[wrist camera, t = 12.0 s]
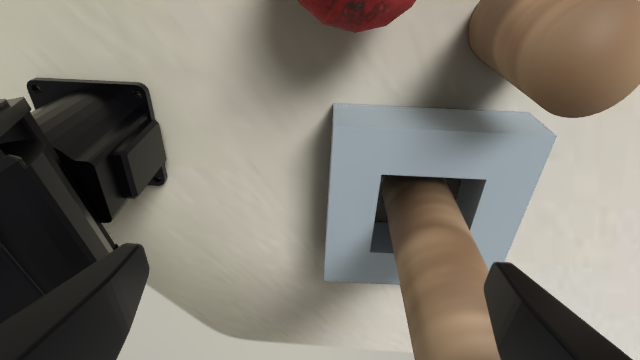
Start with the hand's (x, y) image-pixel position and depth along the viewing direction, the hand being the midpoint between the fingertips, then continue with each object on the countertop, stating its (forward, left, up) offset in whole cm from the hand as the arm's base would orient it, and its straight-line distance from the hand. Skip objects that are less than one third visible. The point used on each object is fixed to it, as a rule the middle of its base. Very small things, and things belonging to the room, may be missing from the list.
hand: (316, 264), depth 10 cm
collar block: (+6, -6, -13) cm, 16 cm away
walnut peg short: (+9, +4, -13) cm, 16 cm away
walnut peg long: (+6, -6, -13) cm, 15 cm away
